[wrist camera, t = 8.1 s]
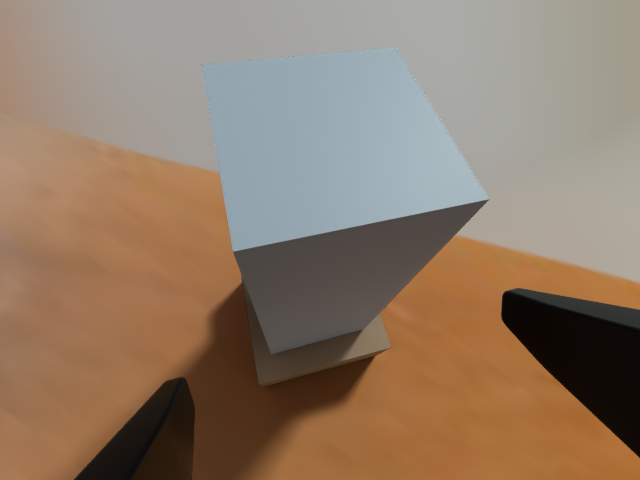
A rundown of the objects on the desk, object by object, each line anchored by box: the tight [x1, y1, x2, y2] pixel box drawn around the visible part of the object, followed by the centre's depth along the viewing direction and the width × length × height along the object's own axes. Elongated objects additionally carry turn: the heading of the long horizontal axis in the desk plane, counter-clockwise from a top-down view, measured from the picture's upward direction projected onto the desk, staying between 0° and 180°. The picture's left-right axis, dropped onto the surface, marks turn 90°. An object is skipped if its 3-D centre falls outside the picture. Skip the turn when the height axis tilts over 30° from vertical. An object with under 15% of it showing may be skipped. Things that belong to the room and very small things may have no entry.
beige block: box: [240, 271, 391, 386], centre depth 19 cm, size 7×7×4 cm
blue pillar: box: [202, 48, 489, 354], centre depth 12 cm, size 5×5×12 cm
